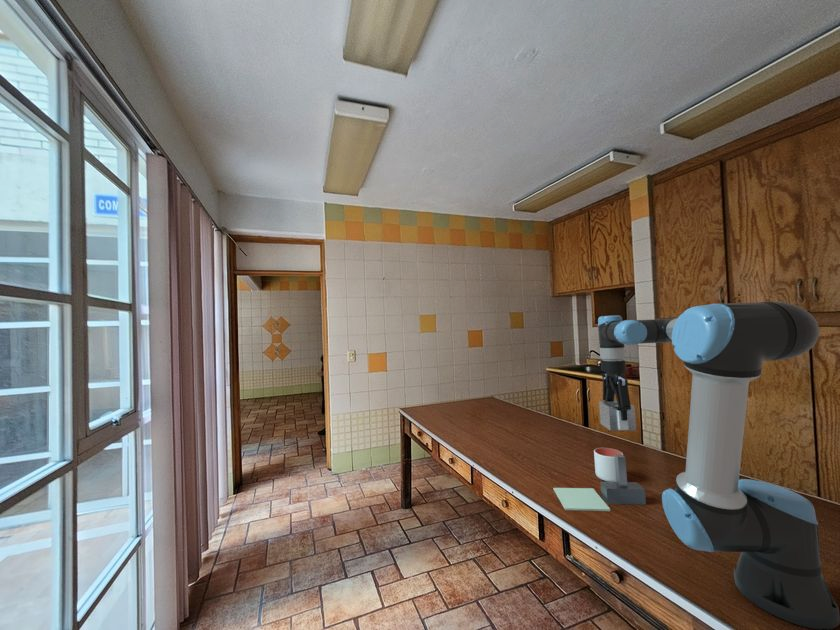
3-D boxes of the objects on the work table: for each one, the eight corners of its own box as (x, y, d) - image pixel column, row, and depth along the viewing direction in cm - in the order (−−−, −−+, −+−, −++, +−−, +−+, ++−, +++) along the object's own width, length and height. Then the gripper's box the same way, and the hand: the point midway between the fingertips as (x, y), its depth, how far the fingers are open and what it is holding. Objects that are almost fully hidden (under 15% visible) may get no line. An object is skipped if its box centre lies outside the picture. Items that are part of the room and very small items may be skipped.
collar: (636, 430, 109) (634, 406, 109) (610, 430, 110) (608, 406, 110) (624, 423, 116) (622, 401, 117) (600, 423, 117) (598, 401, 118)
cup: (629, 484, 122) (627, 457, 123) (600, 483, 124) (598, 456, 125) (618, 473, 132) (617, 448, 133) (592, 472, 134) (590, 447, 135)
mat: (610, 511, 106) (610, 509, 106) (565, 510, 108) (565, 508, 108) (593, 490, 120) (593, 488, 120) (553, 489, 121) (553, 487, 121)
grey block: (645, 504, 109) (642, 458, 109) (607, 503, 110) (604, 458, 111) (637, 496, 114) (634, 453, 114) (601, 496, 115) (598, 453, 116)
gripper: (640, 362, 103) (646, 435, 102) (610, 356, 124) (615, 417, 123) (615, 363, 104) (620, 435, 103) (589, 357, 125) (594, 417, 124)
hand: (617, 425), depth 113 cm, fingers closed on collar, 8 cm apart
